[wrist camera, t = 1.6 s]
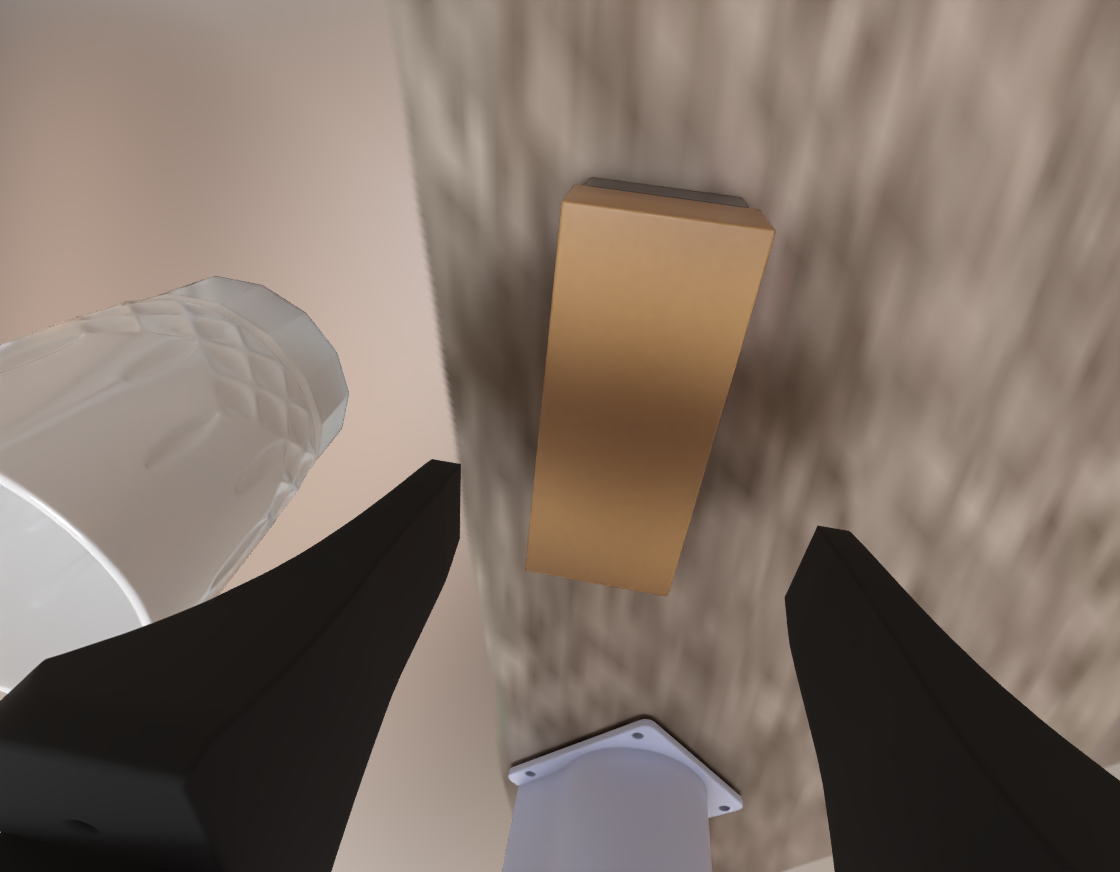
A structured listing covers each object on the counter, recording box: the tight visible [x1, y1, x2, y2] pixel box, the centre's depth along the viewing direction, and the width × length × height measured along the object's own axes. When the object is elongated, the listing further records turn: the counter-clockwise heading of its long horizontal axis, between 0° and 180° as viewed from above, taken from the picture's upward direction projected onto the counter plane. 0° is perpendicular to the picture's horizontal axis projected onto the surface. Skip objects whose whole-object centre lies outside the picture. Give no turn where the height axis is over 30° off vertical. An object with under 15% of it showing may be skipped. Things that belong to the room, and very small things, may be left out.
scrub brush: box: [525, 177, 776, 596], centre depth 17 cm, size 11×4×4 cm, turn 174°
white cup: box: [0, 276, 349, 693], centre depth 16 cm, size 8×8×10 cm
